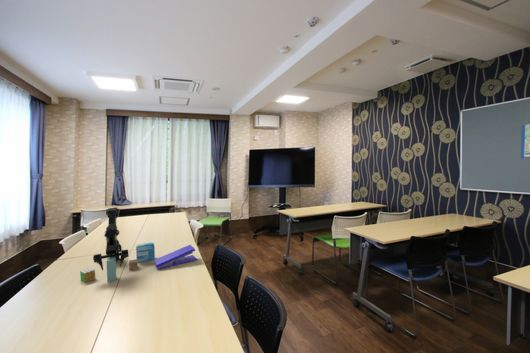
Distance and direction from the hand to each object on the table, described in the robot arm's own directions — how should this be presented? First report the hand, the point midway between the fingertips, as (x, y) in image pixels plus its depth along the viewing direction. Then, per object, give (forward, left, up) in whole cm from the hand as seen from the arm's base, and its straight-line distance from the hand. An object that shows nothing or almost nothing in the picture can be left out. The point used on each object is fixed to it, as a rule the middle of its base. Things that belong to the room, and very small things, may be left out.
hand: (111, 268), depth 149 cm
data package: (-8, +31, -7) cm, 32 cm away
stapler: (+17, +36, -8) cm, 40 cm away
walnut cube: (-3, +17, -7) cm, 19 cm away
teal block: (-1, +1, -7) cm, 7 cm away
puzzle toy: (-15, -5, -7) cm, 17 cm away
